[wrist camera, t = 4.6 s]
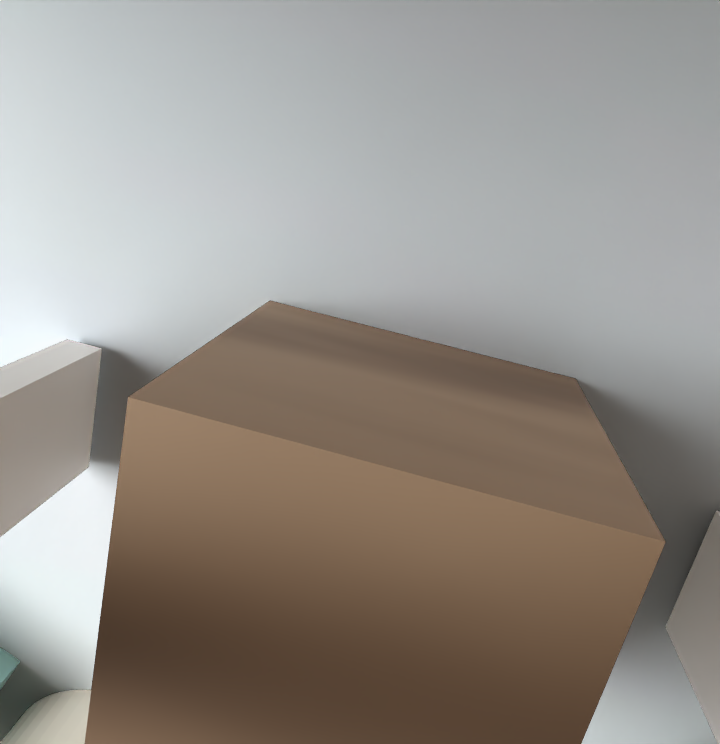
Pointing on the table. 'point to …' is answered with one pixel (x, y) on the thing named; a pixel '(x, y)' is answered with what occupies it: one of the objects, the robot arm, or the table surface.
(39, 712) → the cream capsule cylinder
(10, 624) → the table surface
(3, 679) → the teal block
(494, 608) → the walnut cube
